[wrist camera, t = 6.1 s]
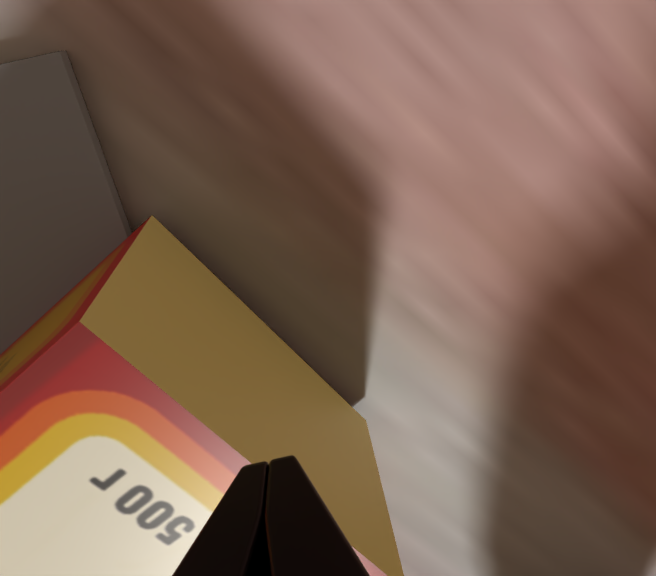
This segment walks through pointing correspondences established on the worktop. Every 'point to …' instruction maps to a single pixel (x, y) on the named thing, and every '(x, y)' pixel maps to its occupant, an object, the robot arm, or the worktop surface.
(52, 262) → the slate mat
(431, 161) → the worktop surface
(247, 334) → the baking soda box
